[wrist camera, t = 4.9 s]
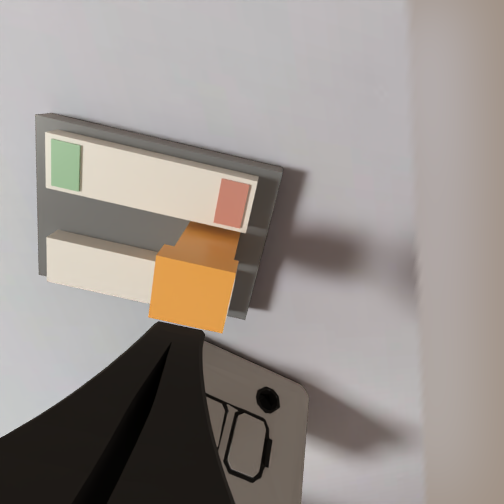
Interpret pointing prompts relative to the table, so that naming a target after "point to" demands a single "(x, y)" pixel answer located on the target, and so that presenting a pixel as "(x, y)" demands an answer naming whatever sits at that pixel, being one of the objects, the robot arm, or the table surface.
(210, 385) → the electrical switch
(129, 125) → the table surface
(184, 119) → the table surface
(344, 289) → the table surface
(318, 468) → the table surface
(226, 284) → the breaker handle
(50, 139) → the breaker base
